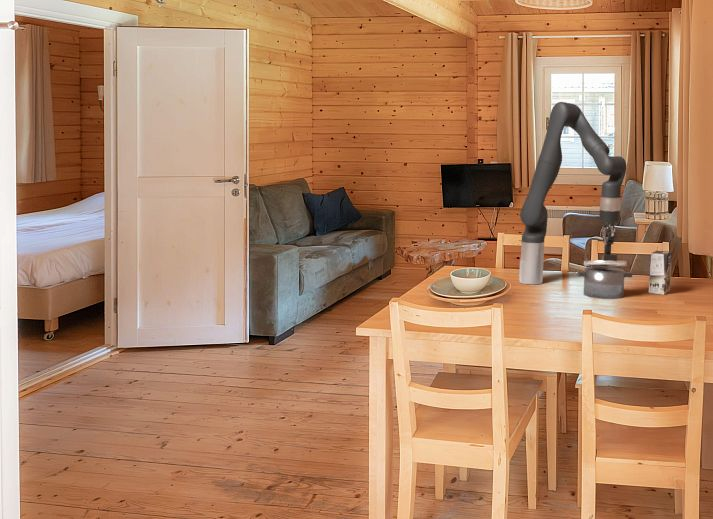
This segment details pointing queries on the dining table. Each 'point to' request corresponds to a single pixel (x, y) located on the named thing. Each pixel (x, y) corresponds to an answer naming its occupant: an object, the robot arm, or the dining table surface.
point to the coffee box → (660, 272)
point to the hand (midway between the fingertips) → (607, 254)
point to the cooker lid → (606, 261)
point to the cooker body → (603, 282)
